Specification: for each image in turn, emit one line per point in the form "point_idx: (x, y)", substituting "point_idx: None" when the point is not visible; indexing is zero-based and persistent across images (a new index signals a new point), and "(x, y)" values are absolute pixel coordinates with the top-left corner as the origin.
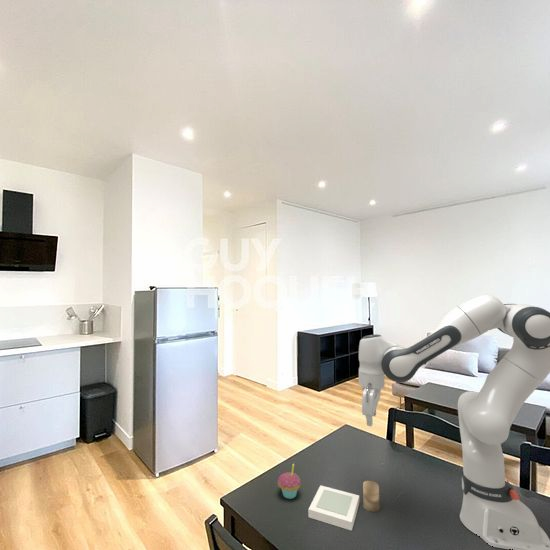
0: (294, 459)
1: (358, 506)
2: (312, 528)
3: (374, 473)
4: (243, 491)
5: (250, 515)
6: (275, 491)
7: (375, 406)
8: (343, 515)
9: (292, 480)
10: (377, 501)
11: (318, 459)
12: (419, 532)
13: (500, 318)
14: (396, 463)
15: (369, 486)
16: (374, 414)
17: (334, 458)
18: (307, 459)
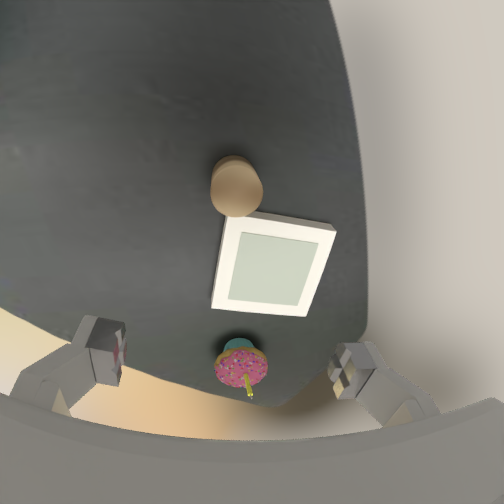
0: None
1: None
2: (330, 294)
3: (71, 168)
4: (250, 401)
5: (308, 377)
6: None
7: (417, 464)
8: (317, 249)
9: (257, 369)
10: (250, 165)
11: (76, 313)
12: (308, 69)
13: None
14: (7, 111)
15: (246, 197)
16: (121, 338)
17: (51, 278)
18: None
